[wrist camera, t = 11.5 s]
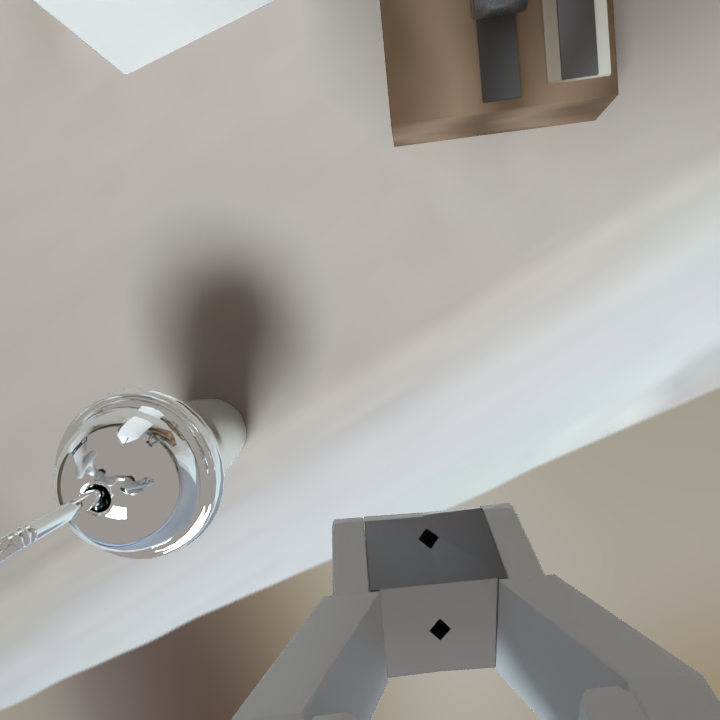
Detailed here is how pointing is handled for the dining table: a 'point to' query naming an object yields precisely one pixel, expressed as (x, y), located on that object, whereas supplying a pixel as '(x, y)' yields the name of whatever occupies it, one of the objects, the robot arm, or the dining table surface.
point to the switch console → (495, 67)
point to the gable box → (144, 25)
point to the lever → (496, 8)
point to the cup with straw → (139, 473)
